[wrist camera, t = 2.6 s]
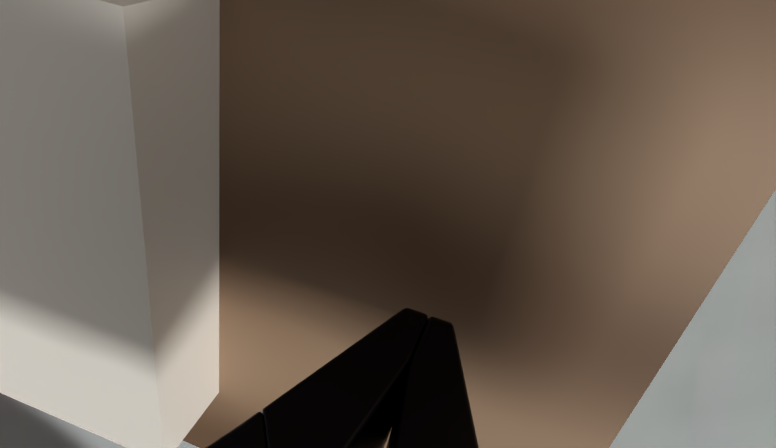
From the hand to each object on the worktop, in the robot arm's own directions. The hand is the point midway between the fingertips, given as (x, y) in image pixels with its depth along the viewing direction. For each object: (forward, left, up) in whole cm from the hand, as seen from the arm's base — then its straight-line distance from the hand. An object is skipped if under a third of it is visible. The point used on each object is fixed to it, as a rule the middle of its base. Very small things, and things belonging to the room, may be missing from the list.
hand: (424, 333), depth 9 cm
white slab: (0, +7, -1) cm, 7 cm away
